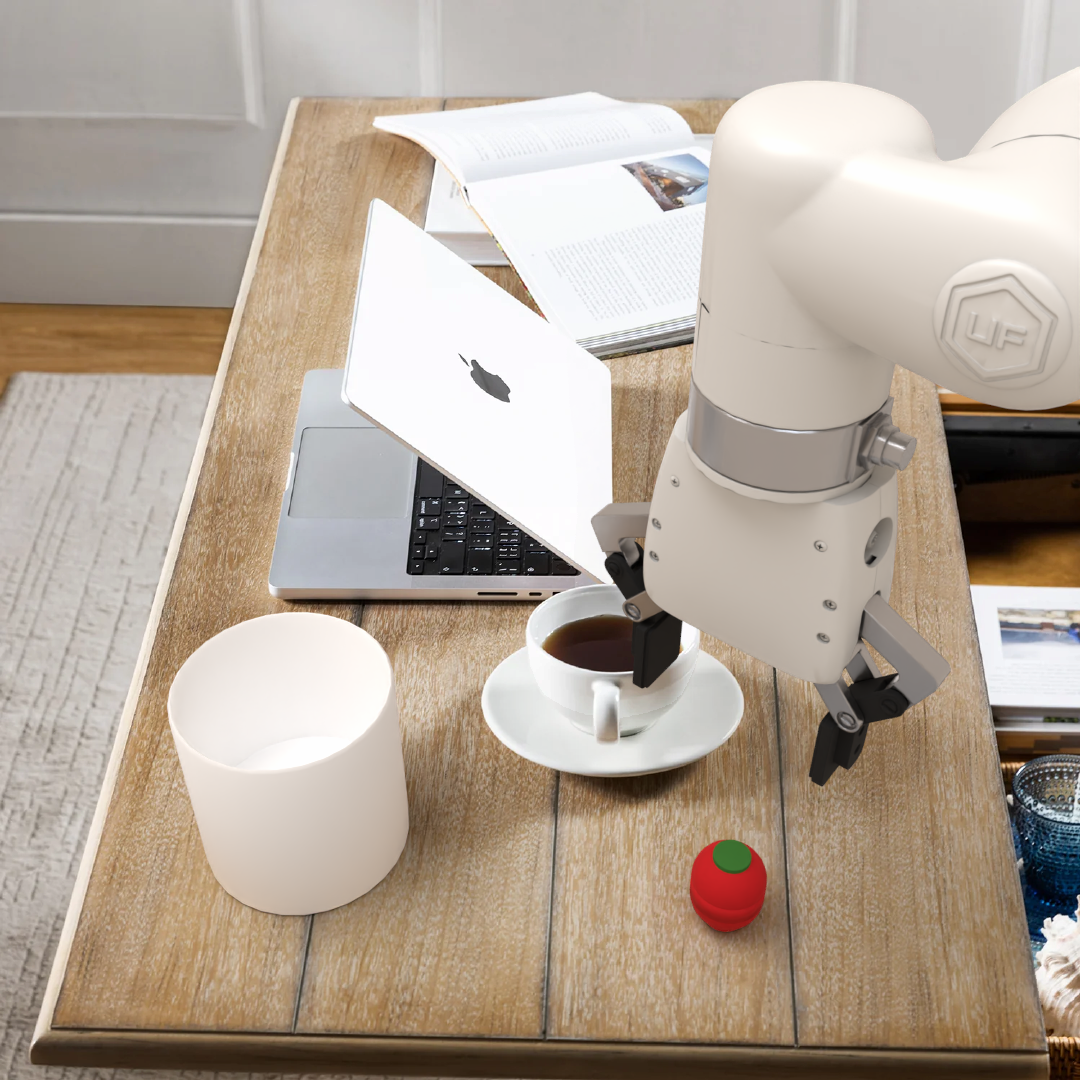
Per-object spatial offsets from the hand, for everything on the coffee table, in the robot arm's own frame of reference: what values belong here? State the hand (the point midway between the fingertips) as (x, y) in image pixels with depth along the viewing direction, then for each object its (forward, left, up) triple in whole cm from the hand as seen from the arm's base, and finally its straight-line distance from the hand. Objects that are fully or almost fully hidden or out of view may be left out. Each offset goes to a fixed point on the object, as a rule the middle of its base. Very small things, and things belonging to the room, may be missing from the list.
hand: (740, 716), depth 61 cm
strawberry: (-1, 0, -15) cm, 15 cm away
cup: (+21, +10, -15) cm, 28 cm away
